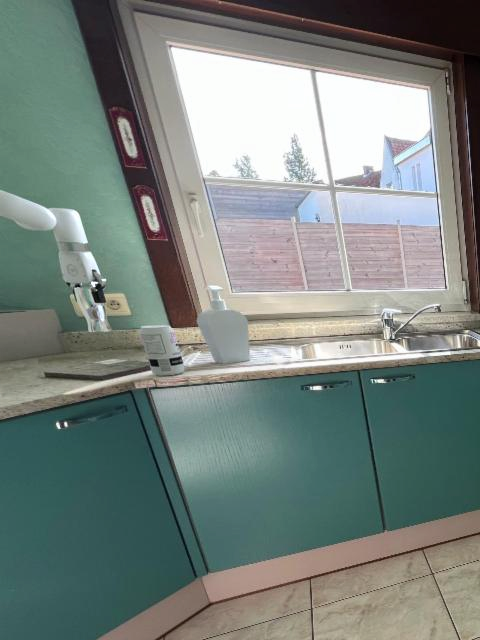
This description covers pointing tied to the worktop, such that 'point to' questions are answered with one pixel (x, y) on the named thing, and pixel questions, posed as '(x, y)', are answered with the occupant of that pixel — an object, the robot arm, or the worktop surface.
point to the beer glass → (92, 310)
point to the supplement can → (162, 349)
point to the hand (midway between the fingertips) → (91, 302)
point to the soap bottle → (224, 330)
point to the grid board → (101, 370)
